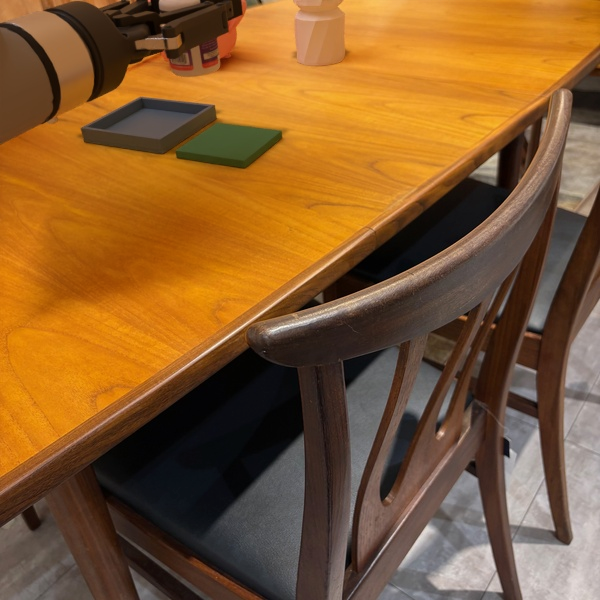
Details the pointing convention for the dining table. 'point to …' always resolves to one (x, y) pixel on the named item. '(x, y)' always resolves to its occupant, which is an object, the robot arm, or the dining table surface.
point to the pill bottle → (197, 58)
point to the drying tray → (149, 124)
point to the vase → (319, 32)
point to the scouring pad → (229, 145)
